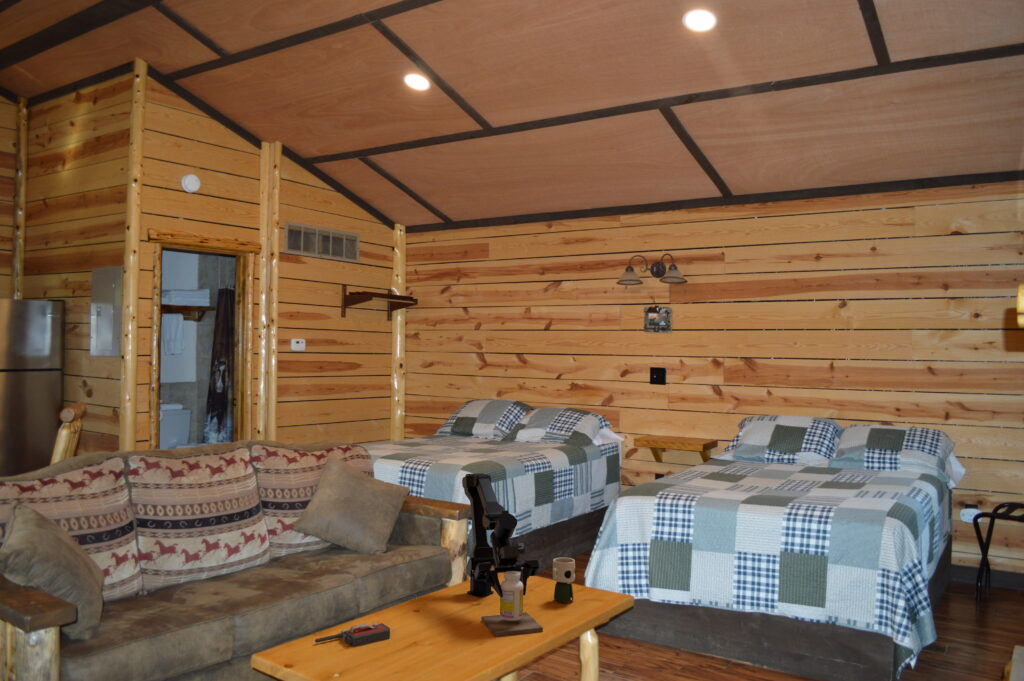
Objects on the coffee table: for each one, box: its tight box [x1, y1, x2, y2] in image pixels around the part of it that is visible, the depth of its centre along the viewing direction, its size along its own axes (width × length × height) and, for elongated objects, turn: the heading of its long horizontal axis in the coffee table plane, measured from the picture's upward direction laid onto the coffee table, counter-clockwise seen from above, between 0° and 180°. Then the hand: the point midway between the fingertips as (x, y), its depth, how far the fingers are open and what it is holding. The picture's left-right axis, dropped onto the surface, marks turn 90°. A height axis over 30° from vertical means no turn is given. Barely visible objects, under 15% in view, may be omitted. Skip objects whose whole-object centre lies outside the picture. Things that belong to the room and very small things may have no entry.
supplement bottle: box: [499, 571, 524, 621], centre depth 230 cm, size 7×7×13 cm
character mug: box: [552, 556, 576, 603], centre depth 254 cm, size 11×7×13 cm, turn 140°
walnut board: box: [480, 611, 544, 638], centre depth 229 cm, size 14×14×1 cm
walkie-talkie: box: [314, 622, 391, 648], centre depth 217 cm, size 9×4×20 cm
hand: (513, 596), depth 228 cm, fingers closed on supplement bottle, 6 cm apart
